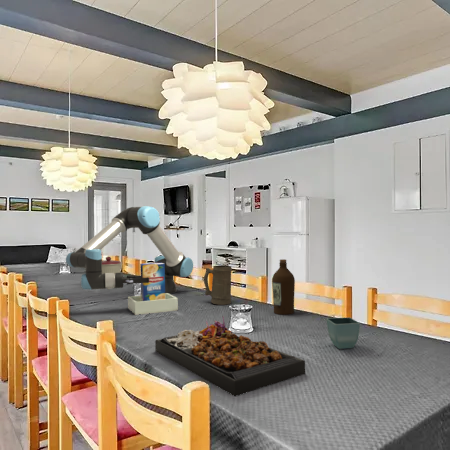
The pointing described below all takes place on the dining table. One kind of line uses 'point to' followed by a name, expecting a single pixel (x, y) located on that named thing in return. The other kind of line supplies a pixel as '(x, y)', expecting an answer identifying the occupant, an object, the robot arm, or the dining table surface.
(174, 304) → the box
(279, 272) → the brown bottle
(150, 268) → the beverage box
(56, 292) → the dining table surface
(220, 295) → the beer stein
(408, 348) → the dining table surface
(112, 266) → the canister
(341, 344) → the flower pot
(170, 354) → the food platter
